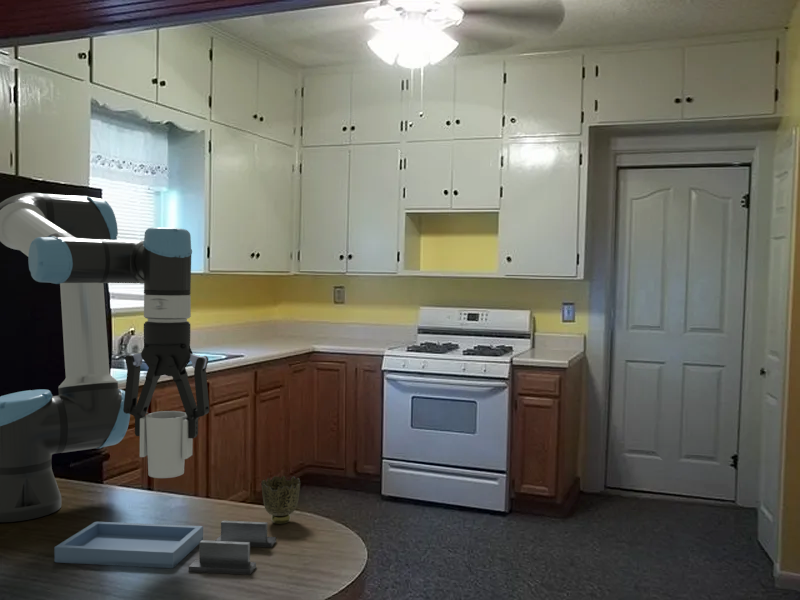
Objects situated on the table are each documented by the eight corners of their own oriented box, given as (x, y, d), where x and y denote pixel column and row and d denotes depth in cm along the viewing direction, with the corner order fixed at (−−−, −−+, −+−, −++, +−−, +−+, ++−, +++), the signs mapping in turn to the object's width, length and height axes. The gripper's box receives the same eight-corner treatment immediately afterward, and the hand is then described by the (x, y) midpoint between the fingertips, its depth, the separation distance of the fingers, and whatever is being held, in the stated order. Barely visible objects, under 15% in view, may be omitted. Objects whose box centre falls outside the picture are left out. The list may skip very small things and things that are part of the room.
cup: (254, 526, 140) (254, 483, 140) (271, 514, 147) (271, 474, 147) (290, 530, 138) (291, 487, 138) (306, 518, 145) (306, 477, 145)
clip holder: (221, 539, 133) (221, 516, 133) (276, 541, 132) (276, 519, 132) (188, 571, 118) (188, 546, 118) (250, 574, 117) (250, 549, 117)
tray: (95, 535, 134) (95, 521, 134) (202, 540, 132) (202, 526, 132) (54, 562, 121) (54, 547, 121) (172, 568, 119) (172, 552, 119)
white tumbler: (165, 466, 131) (166, 409, 131) (195, 471, 128) (195, 413, 128) (136, 475, 125) (137, 415, 125) (166, 481, 122) (167, 420, 122)
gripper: (100, 320, 123) (99, 459, 123) (216, 323, 121) (215, 464, 122) (121, 317, 130) (120, 448, 131) (231, 320, 128) (229, 453, 129)
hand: (166, 455), depth 126 cm, fingers closed on white tumbler, 7 cm apart
